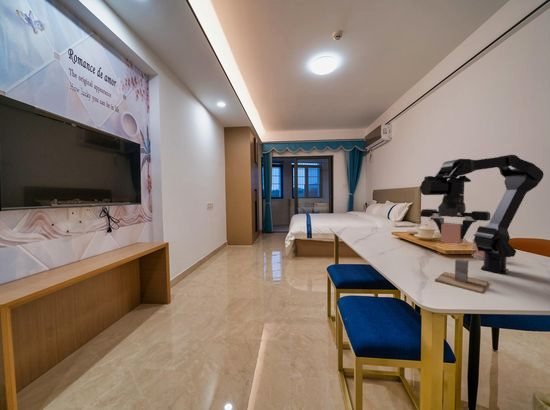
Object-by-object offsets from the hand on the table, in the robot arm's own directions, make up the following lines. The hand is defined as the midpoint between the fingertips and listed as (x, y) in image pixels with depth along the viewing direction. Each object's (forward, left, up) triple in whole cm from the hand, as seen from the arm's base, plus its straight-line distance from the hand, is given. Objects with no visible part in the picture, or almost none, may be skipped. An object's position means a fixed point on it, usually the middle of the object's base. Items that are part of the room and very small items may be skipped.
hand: (452, 237), depth 77 cm
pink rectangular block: (0, 0, -1) cm, 1 cm away
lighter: (-28, +4, -12) cm, 31 cm away
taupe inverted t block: (+11, +5, -12) cm, 17 cm away
